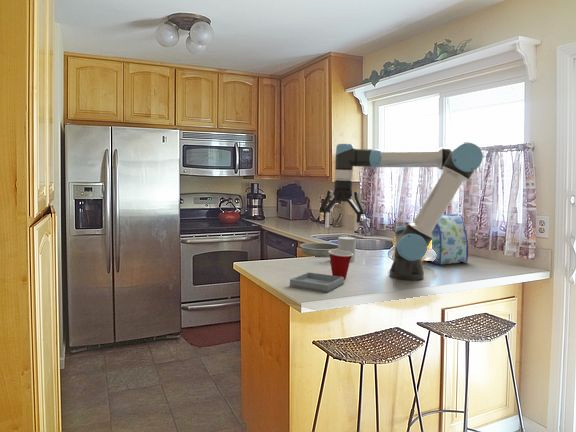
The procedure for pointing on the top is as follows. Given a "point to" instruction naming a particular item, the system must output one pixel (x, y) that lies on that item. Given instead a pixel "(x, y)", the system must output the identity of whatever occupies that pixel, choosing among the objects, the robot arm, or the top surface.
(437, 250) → the lunch bag
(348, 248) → the white cylinder
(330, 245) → the cake pan
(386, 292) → the top surface
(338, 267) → the plastic cup
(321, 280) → the tray
